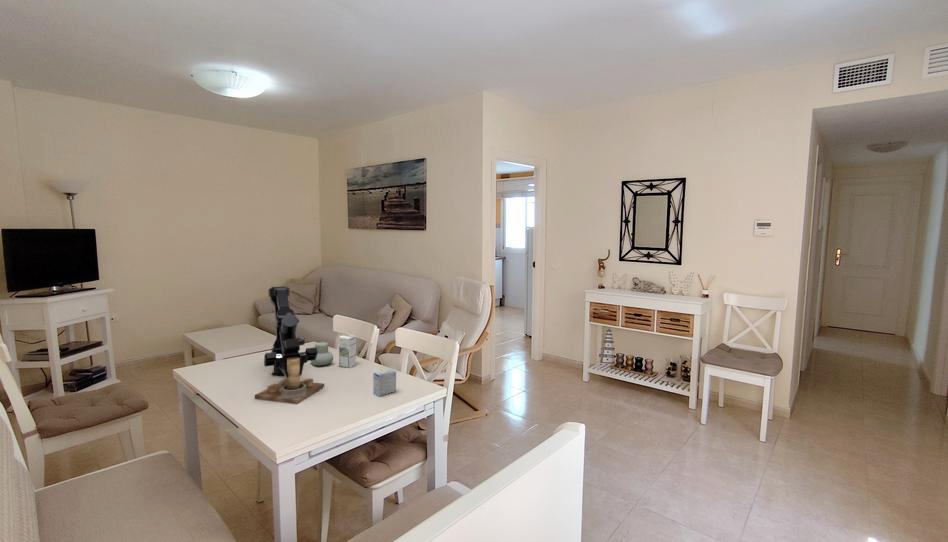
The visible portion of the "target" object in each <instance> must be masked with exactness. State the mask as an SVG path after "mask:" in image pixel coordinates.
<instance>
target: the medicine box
mask: <svg viewBox="0 0 948 542" xmlns="http://www.w3.org/2000/svg"><path fill="white" fill-rule="evenodd" d="M372 376H373V377H372V378H373V379H372V381H373V383H372V385H373V390H372V393H373V395H375V394H376V395H375V396H377V395H378V396H377V397H379V396H380V397H383V396H386V395H389V394H388V393H390V394H392V393H391V392H393V393H395V392H394V391H396V392H397V371H395V370H394V369H392V368H388V369H383V370H380V371H375V372H373V375H372ZM385 394H386V395H385ZM382 395H383V396H382Z"/></svg>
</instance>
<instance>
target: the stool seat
mask: <svg viewBox="0 0 948 542" xmlns="http://www.w3.org/2000/svg"><path fill="white" fill-rule="evenodd" d="M323 387H324V388H325V383H323V382H322V383H321V382H314V379H313V378H304V379H302V380H300V389H297V390H287V378H286V376H283V378H282V381H280V382H277V383H270V384H268V385H266V389H264V390H261V391H259V392H257V393H256V394H254V400H260V399H261V401H270V402H276V403H277V402H279V403H287V404H294V405H298V404H300V403H301V402H303V401H304V399H305V400H306V399H307V398H309V397H311V396H312V394H313V395H314V394H316V393H317V392H319V391H320V389H321V390H322V389H324V388H323ZM315 392H316V393H315Z"/></svg>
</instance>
